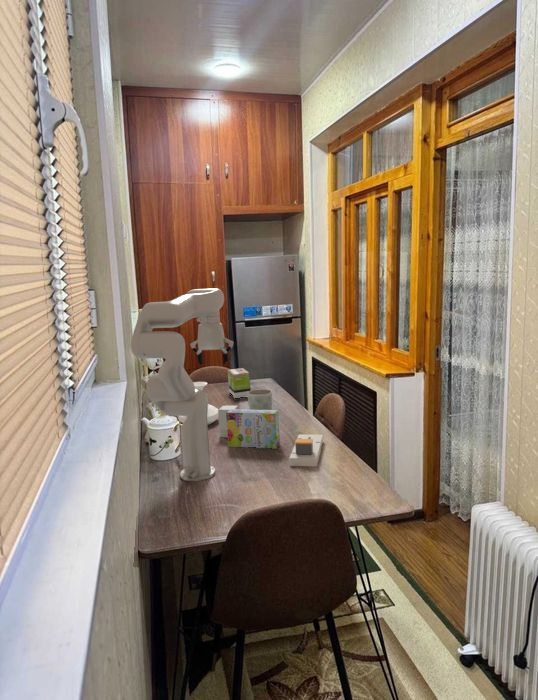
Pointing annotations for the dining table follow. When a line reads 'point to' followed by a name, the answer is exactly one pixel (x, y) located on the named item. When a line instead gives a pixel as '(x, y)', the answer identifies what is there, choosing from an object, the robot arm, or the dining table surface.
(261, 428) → the snack box
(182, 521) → the dining table surface
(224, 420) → the supplement box
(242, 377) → the tea box
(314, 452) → the fader console
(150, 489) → the dining table surface
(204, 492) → the dining table surface
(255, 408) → the planter
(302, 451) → the fader knob
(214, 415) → the candle holder
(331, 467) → the dining table surface
